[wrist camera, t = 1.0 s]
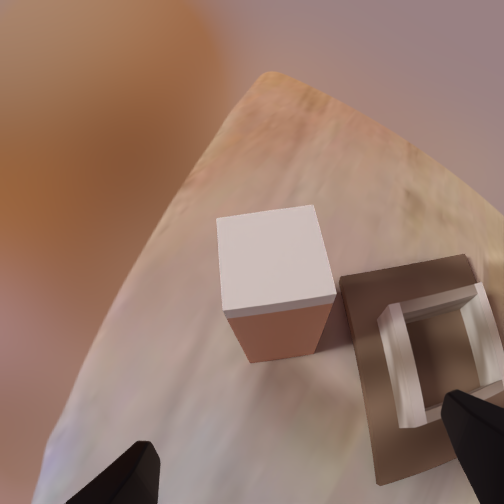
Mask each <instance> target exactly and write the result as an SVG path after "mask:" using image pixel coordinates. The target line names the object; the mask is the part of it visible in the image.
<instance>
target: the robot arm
mask: <svg viewBox="0 0 504 504" xmlns="http://www.w3.org/2000/svg"><path fill="white" fill-rule="evenodd" d="M441 419H442V421H443V424H444V426H445V429H446V431H447V434H448V436H449V439H450V441H451V444H452V447H453V449H454V452H455V454H456V456H457V458H458V460H459V462H460V464H461V466H462V468H463V470H464V472H465V474H466V476H467V478H468V480H469V482H470V484H471V486H472V488H473V490H474V492H475V494H476V496H477V498H478V500H479V502H480V504H504V408H502V407H500V406H497V405H495V404H492V403H490V402H487V401H485V400H483V399H480V398H478V397H475V396H473V395H470V394H468V393H466V392H463V391H461V390H458V389H455V390H452V391H450V392H447V393H446V394H445V396H444V400H443V404H442V408H441ZM159 476H160V458H159V456H158V454H157V452H156V450H155V448H154V446H153V444H152V443H151V442H150V441H137V442H135V443H134V444H133V445H132V446H131V447H130V448H129V449H128V450H126V451H125V452H124V453H123V454H122V455H121V456H120V457H119V458H117V459H116V460H115V461H114V462H113V463H112V464H111V465H109V466H108V467H107V468H106V469H105V470H104V471H103V472H101V473H100V474H99V475H98V476H97V477H96V478H94V479H93V480H92V481H91V482H90V483H88V484H87V485H86V486H85V487H84V488H82V489H81V490H80V491H79V492H78V493H76V494H75V495H74V496H73V497H72V498H70V499H69V500H68V501H67V502H66V504H157V503H158V490H159Z"/></svg>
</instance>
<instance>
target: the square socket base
mask: <svg viewBox="0 0 504 504" xmlns="http://www.w3.org/2000/svg"><path fill="white" fill-rule="evenodd" d="M339 285H340V289H341V293H342V297H343V301H344V305H345V310H346V314H347V318H348V323H349V327H350V332H351V336H352V341H353V345H354V350H355V355H356V360H357V365H358V370H359V375H360V380H361V386H362V391H363V396H364V402H365V408H366V414H367V420H368V426H369V432H370V439H371V446H372V453H373V460H374V468H375V476H376V484H378V485H379V486H382V485H385V484H389V483H392V482H395V481H398V480H401V479H404V478H407V477H410V476H413V475H416V474H418V473H421V472H424V471H426V470H429V469H431V468H434V467H436V466H439V465H441V464H444V463H446V462H448V461H451V460H453V459H455V458H457V456H456V454H455V452H454V449H453V447H452V444H451V441H450V439H449V436H448V434H447V431H446V429H445V426H444V424H443V421H442V419H441V408H442V404H443V400H444V396H445V394H446V393H447V392H450V391H452V390H455V389H458V390H461V391H463V392H466V393H468V394H470V395H473V396H475V397H478V398H480V399H483V400H485V401H487V402H490V403H492V404H495V405H497V406H500V407H502V408H504V350H503V346H502V343H501V339H500V336H499V332H498V329H497V325H496V322H495V319H494V316H493V313H492V310H491V307H490V304H489V301H488V298H487V295H486V292H485V290H484V287H483V284H482V282H480V283H476V280H475V278H474V275H473V273H472V270H471V268H470V265H469V263H468V260H467V258H466V255H465V254H461V255H456V256H451V257H446V258H441V259H436V260H431V261H425V262H420V263H415V264H409V265H404V266H399V267H393V268H388V269H382V270H376V271H371V272H365V273H359V274H353V275H347V276H341V277H340V280H339Z"/></svg>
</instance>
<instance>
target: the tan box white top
mask: <svg viewBox="0 0 504 504" xmlns="http://www.w3.org/2000/svg"><path fill="white" fill-rule="evenodd" d="M216 219H217V236H218V252H219V267H220V281H221V294H222V307H223V312H224V314H225V316H226V318H227V320H228V322H229V324H230V326H231V328H232V330H233V332H234V333H235V335H236V337H237V339H238V341H239V343H240V345H241V347H242V349H243V351H244V352H245V354H246V356H247V358H248V360H249V362H250V363H255V362H263V361H270V360H277V359H284V358H291V357H297V356H303V355H309V354H314V352H315V350H316V347H317V345H318V342H319V340H320V337H321V334H322V332H323V329H324V327H325V324H326V321H327V319H328V316H329V313H330V311H331V308H332V305H333V303H334V300H335V297H336V294H337V293H336V289H335V285H334V281H333V276H332V272H331V268H330V265H329V261H328V257H327V253H326V249H325V245H324V242H323V238H322V234H321V230H320V227H319V223H318V220H317V216H316V213H315V209H314V206H313V205H307V206H299V207H292V208H284V209H277V210H270V211H263V212H256V213H249V214H242V215H235V216H229V217H222V218H216Z"/></svg>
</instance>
